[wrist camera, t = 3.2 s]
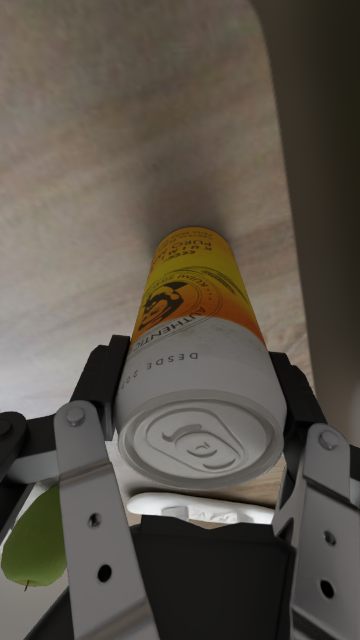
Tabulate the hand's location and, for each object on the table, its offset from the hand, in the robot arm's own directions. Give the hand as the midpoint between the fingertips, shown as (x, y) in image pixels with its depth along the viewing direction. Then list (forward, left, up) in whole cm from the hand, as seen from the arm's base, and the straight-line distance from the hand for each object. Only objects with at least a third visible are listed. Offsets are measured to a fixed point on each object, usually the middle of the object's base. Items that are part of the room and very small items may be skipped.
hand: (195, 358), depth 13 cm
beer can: (0, 0, -11) cm, 11 cm away
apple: (+39, -15, -11) cm, 43 cm away
